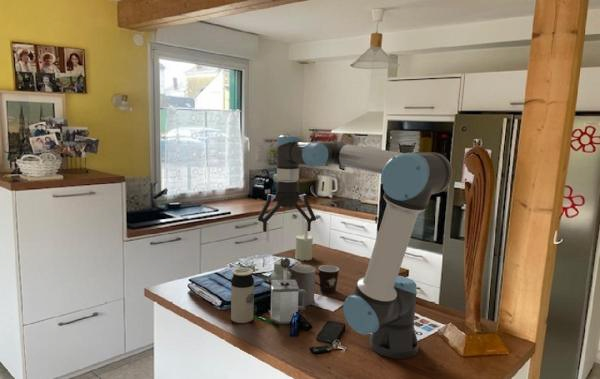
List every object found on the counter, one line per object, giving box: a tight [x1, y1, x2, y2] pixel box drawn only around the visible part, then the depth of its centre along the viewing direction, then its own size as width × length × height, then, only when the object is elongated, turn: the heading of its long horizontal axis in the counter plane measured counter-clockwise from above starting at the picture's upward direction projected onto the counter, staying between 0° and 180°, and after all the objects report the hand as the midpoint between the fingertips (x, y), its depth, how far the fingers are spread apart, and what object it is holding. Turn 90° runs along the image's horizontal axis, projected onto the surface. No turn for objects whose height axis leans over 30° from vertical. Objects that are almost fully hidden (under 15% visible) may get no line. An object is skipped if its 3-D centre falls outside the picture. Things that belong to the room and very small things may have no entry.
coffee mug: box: [315, 264, 340, 295], centre depth 182 cm, size 12×9×10 cm
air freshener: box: [270, 260, 291, 283], centre depth 188 cm, size 11×8×10 cm
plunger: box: [280, 257, 291, 286], centre depth 153 cm, size 7×7×18 cm
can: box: [294, 234, 314, 262], centre depth 227 cm, size 9×9×12 cm
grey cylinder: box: [290, 264, 316, 307], centre depth 170 cm, size 10×10×15 cm
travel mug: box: [230, 267, 255, 324], centre depth 153 cm, size 8×8×18 cm
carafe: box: [269, 279, 306, 326], centre depth 155 cm, size 10×13×13 cm
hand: (286, 240), depth 151 cm, fingers open, 13 cm apart
